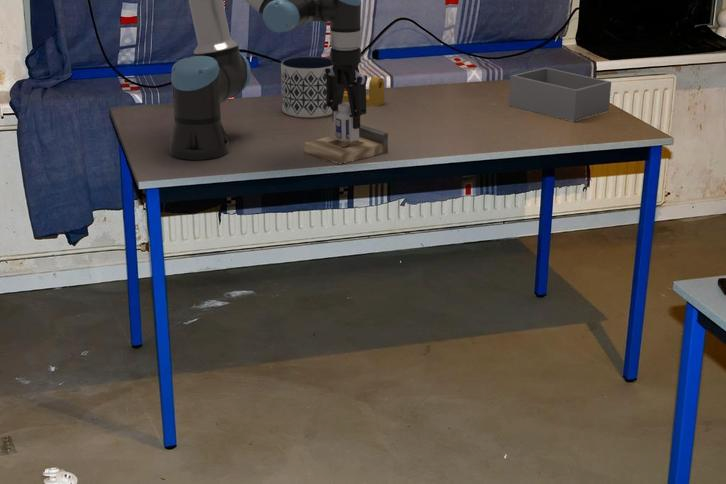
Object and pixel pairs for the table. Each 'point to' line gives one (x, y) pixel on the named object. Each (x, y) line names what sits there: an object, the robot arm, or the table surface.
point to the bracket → (372, 92)
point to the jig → (350, 146)
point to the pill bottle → (343, 122)
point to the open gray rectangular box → (559, 93)
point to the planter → (305, 86)
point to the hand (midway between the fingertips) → (346, 137)
